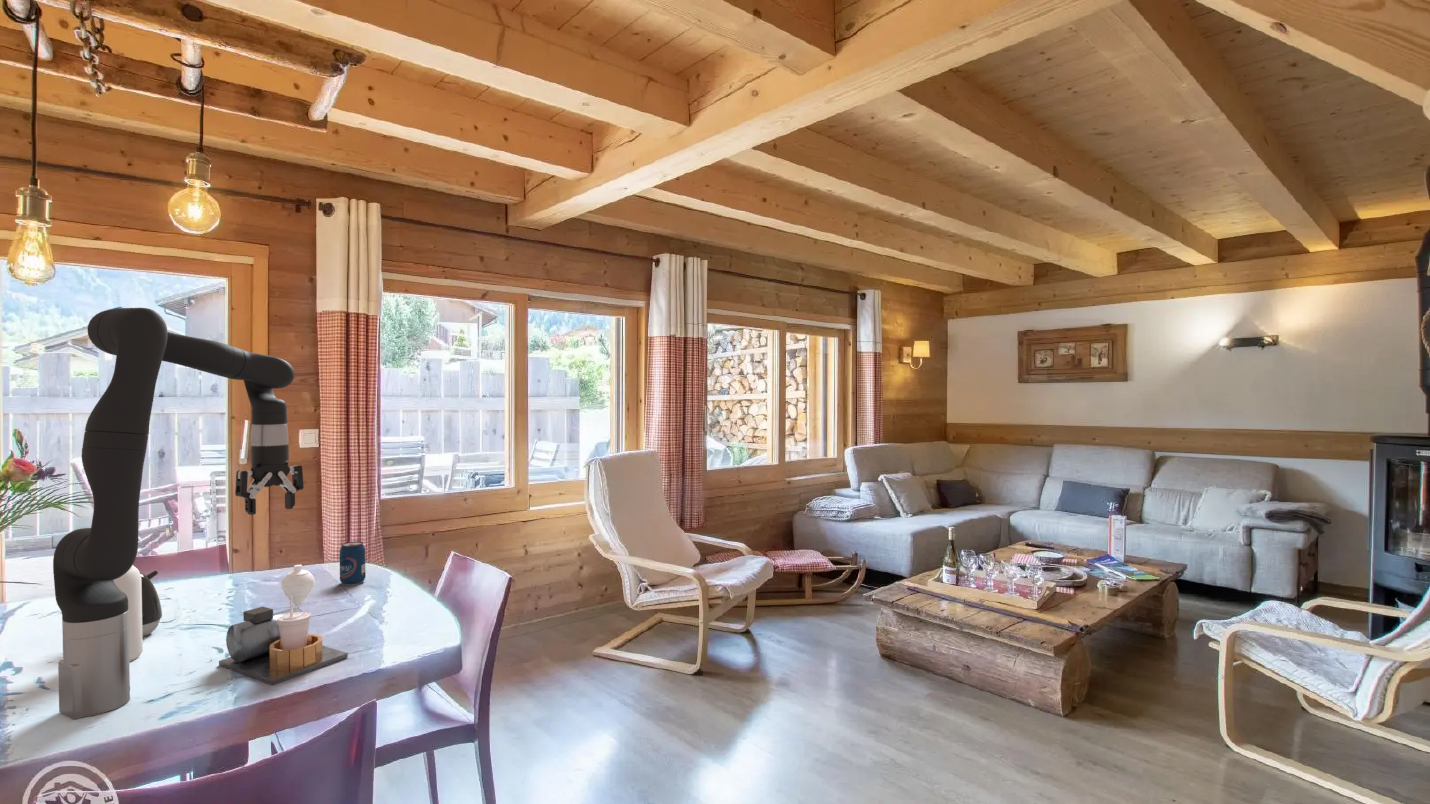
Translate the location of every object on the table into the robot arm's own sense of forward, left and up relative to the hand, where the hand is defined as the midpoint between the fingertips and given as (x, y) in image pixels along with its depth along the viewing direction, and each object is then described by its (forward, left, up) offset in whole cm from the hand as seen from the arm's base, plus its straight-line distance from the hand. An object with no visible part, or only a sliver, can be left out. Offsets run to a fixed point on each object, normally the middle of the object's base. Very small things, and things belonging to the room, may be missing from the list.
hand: (270, 511), depth 165 cm
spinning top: (+15, +15, -30) cm, 37 cm away
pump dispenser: (-15, +30, -30) cm, 45 cm away
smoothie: (-7, -21, -29) cm, 37 cm away
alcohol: (-24, +16, -30) cm, 42 cm away
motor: (-7, -17, -30) cm, 35 cm away
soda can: (+38, +26, -30) cm, 55 cm away
